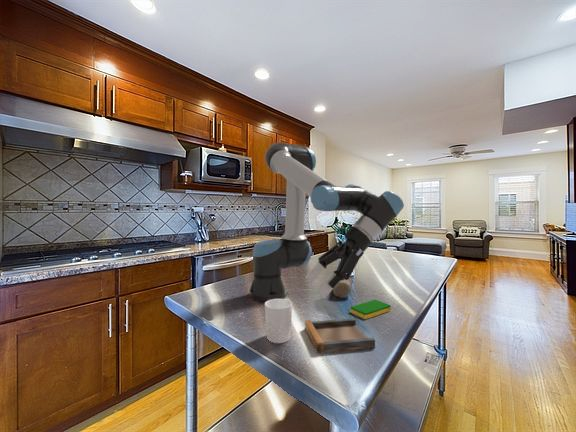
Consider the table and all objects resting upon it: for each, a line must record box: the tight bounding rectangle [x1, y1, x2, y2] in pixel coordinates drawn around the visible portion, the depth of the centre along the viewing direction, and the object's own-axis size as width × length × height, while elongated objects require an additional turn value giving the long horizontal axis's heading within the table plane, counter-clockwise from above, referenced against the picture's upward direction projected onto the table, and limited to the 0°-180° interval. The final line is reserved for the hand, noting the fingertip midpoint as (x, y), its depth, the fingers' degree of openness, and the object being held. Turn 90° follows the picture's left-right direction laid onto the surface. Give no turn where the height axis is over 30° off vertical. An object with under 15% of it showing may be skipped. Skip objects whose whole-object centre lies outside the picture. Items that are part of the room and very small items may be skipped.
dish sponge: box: [349, 299, 392, 320], centre depth 93 cm, size 7×14×2 cm, turn 122°
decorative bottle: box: [332, 276, 354, 299], centre depth 118 cm, size 26×8×7 cm, turn 163°
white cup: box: [264, 298, 293, 344], centre depth 74 cm, size 8×8×10 cm
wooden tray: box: [304, 317, 376, 354], centre depth 74 cm, size 16×13×3 cm
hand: (313, 286), depth 75 cm, fingers open, 13 cm apart
